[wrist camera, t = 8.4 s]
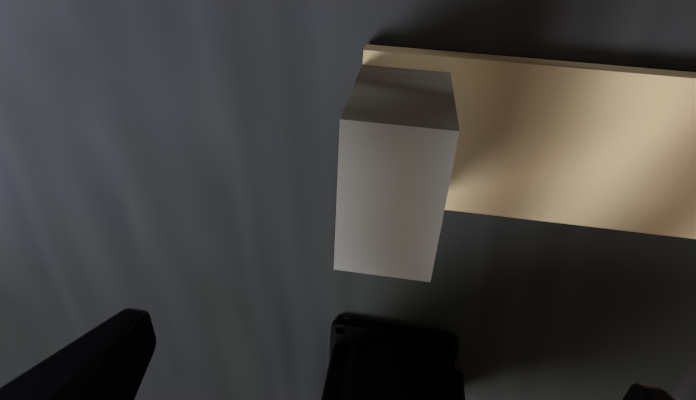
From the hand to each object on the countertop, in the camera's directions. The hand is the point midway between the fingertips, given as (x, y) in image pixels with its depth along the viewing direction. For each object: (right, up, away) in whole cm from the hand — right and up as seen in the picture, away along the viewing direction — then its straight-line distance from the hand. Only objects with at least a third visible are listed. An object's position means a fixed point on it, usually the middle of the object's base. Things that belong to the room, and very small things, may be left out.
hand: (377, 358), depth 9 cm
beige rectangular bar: (+12, +5, +8) cm, 15 cm away
